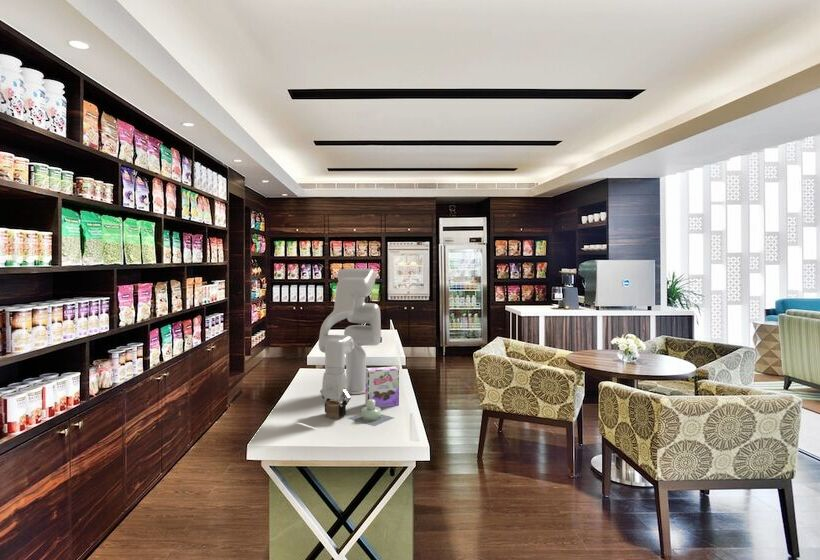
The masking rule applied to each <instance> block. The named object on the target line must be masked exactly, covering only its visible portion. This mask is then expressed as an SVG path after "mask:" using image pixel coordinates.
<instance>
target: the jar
mask: <svg viewBox="0 0 820 560" xmlns="http://www.w3.org/2000/svg"><path fill="white" fill-rule="evenodd" d="M360 411H361V413H360V414H361V419H362V420H364V421H377V420H380V419H381V414H382V409H381V407H375V400H374V399H369V400H367V406H363V407H362V408H361V410H360Z"/></svg>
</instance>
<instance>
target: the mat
mask: <svg viewBox="0 0 820 560" xmlns="http://www.w3.org/2000/svg"><path fill="white" fill-rule="evenodd" d="M347 419H348V420H352V421H354V422H358V423H362V424H364V425H369V426H371V427H377V426H378V425H381V424H383V423H386V422H388V421H390V420H393V419H395V417H394V416H390V415H386V414H382V413H381V419H380V420H377V421H364V420H362V419H361V413H358V414H356V415H354V416H351V417H347Z"/></svg>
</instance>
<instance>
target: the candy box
mask: <svg viewBox="0 0 820 560" xmlns="http://www.w3.org/2000/svg"><path fill="white" fill-rule="evenodd" d="M364 394H365V396H364V397H365V402H364V404H365V407H367V400H369V399H374V400H375V407H379V408H381V407H382V408H384V407H393V406H399V405H400V369H399V367H397V366H384V367H383V366H381V367H380V366H379V367H366V391H365V393H364Z"/></svg>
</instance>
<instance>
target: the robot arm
mask: <svg viewBox="0 0 820 560" xmlns="http://www.w3.org/2000/svg"><path fill="white" fill-rule="evenodd" d="M337 280H338V282H337V283H336V292H335V296H334V297H335V298H334V304H333V305H334V306H333V311H332V312H331V313H330V314H328V316H327V317H326V318H325V320H323V323H322V324H321V327H320V331H319V337H318V349H319V351H320V352H321V353H324V357H325V358H324V359H325V360H324V361H325V362H324V363H325V366H324V368H325V369H324V370H325V372H323V376H322V388H321V389H320V391H319V393H320V394H321V398H322V399H323V403H324V412H325V413H326V401H328V400H331V399H332V400H336V401H338V402H339V404H340V407H339V417H342V416H344V417H345V416H346V413H347V411H346V410H347V406H348V403H349V402H350V401H351V399H352V397H351V396H350V395H361V394H365V391H366V368H367V354H366V351H365V350H364V348H363V347H362V346H366V347H367V346H369V347H370V346H371V347H373V346H379V345H380V343H381V339H382V328H381V327H382V325H381V321H382V320H381V307H380V306H379V305H378V304H377V303H371V302H365V298H367V297H368V296H369V295H370V294H371V292H372V290H373V288H374V286H375V283H376V273H375V271H374V270H373V269H371V268H342V269H340V270H338V272H337ZM345 319H347V321H348V322H349V323H354V325H348V326H347V327H345V328H344V331H343V334H329V331H330V330H331V328H332V327H333V326H335V324H337V323H339V322H341V321H342V320H343V321H344V320H345ZM355 324H358V325H355ZM359 324H360V325H359ZM361 324H369V325H361ZM345 368H346V369H345ZM341 400H343V403H342V401H341ZM342 418H343V417H342Z"/></svg>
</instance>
